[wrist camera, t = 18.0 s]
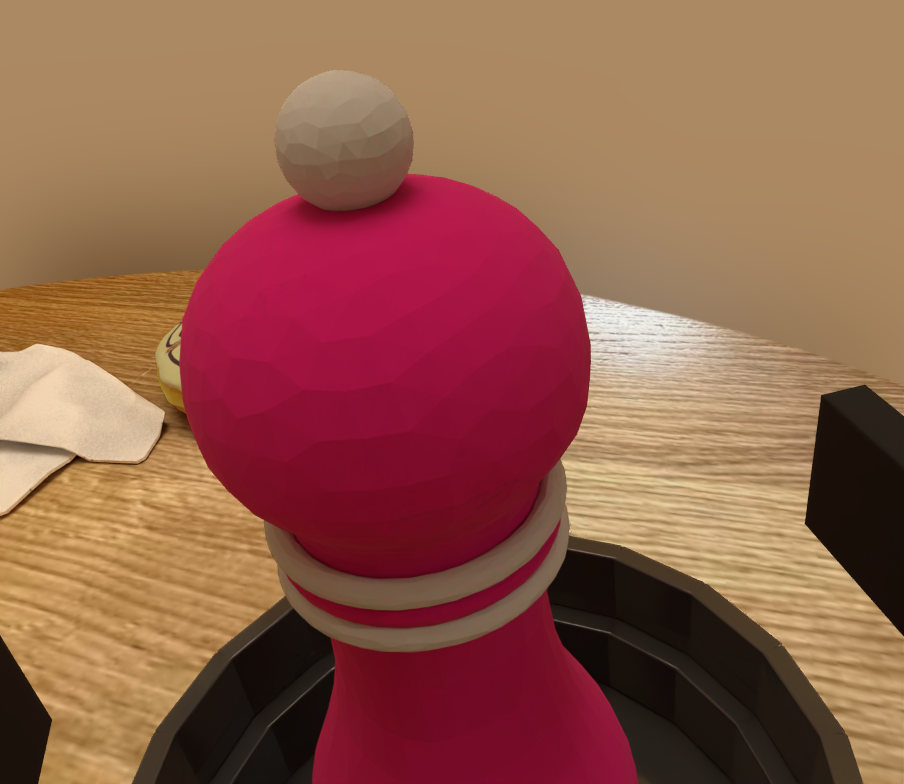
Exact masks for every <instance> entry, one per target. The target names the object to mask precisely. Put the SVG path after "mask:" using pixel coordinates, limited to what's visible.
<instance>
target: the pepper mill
mask: <svg viewBox="0 0 904 784" xmlns="http://www.w3.org/2000/svg"><path fill="white" fill-rule="evenodd" d="M274 141H275V148H276V156H277V160H278V163H279V166H280V168H281V170H282V172H283V174H284V176H285V178H286V180H287V181H288V182H289V183H290V185H291V186H292V187H293V188H294V189H295V190H296V192H297V193H298V194H297V195H295V196H293V197H290V198H288V199H286V200H284V201H281V202H279V203H277V204H275V205H274V206H272V207H270V208H269V209H267V210H266V211H264V212H262V213H261V214H259V215H257V216H256V217H254V218H253V219H251V220H249V221H248V222H247V223H246V224H245V225H244V226H242V227H241V228H240V229H239V230H238V231H237V232H236V233H235V234H234V235H233V236H232V237H231V238H229V239H228V240H227V241H226V242H225V243H224V244H223V245H222V246H221V248H220V249H219V251H218V252H217V254H216V255H215V256H214V258H213V259H212V261H211V262H210V263H209V265H208V266H207V268H206V269H205V270H204V272H203V273H202V275H201V276H200V278H199V279H198V281H197V282H196V285H195V288H194V290H193V293H192V296H191V298H190V301H189V304H188V306H187V309H186V312H185V314H184V317H183V320H182V332H181V345H180V357H179V368H180V379H181V389H182V400H183V404H184V408H185V412H186V416H187V420H188V422H189V425H190V427H191V430H192V432H193V435H194V437H195V439H196V442H197V444H198V447H199V449H200V451H201V453H202V455H203V457H204V459H205V462H206V464H207V466H208V468H209V469H210V470H211V471H212V473H213V474H214V475H215V476H216V477H217V478H218V480H219V481H220V482H221V483H222V484H223V486H224V487H225V488H226V489H227V490H228V491H229V492H230V493H231V494H232V495H233V496H234V497H235V498H236V499H238V500H239V501H240V502H241V503H242V504H243V505H244V506H245V507H246V508H248V509H249V510H250V511H251V512H252V513H253V514H254V515H256V516H258V517H259V518H261V519H263V520H264V527H265V536H266V540H267V544H268V547H269V550H270V552H271V554H272V556H273V557H274V559H275V561H276V563H277V566H278V575H279V579H280V583H281V585H282V588H283V591H284V593H285V596H286V598H287V599H288V601H289V602H290V604H291V605H292V607H293V608H294V609H295V610H296V611H297V612H298V613H299V614H300V615H301V616H302V617H303V618H304V619H305V620H306V621H307V622H308V623H309V624H310V625H311V626H313V627H314V628H316V629H317V630H319V631H320V632H322V633H323V634H325V635H327V636H328V637H331V642H332V647H333V651H334V656H335V675H334V686H333V690H332V695H331V699H330V703H329V708H328V711H327V714H326V717H325V721H324V724H323V727H322V730H321V733H320V737H319V740H318V743H317V746H316V751H315V759H314V766H313V777H312V784H638V778H637V771H636V767H635V763H634V759H633V756H632V752H631V749H630V745H629V741H628V739H627V737H626V735H625V733H624V731H623V729H622V727H621V725H620V723H619V721H618V719H617V717H616V715H615V713H614V711H613V709H612V707H611V705H610V703H609V701H608V700H607V698H606V697H605V695H604V694H603V692H602V690H601V689H600V687H599V686H598V684H597V683H596V682H595V681H594V679H593V678H592V677H591V676H590V675H589V673H588V672H587V671H586V670H585V669H584V667H583V666H582V665H581V664H580V663H579V662H578V661H577V660H576V659H575V658H574V657H573V656H572V655H571V654H570V653H569V652H568V651H567V650H566V649H565V648H564V647H563V645H562V643H561V641H560V639H559V636H558V634H557V632H556V630H555V626H554V621H553V617H552V612H551V607H550V603H549V598H548V593H547V588H548V586H549V585H550V584H551V583H552V581H553V580H554V579H555V577H556V575H557V573H558V571H559V569H560V567H561V565H562V563H563V561H564V559H565V555H566V551H567V546H568V538H569V527H570V525H569V518H568V512H567V507H566V505H565V500H566V492H567V484H566V476H565V470H564V467H563V465H562V462H561V459H560V458H561V457H562V455H563V454H564V452H565V451H566V449H567V448H568V446H569V445H570V444H571V442H572V441H573V439H574V438H575V436H576V435H577V433H578V430H579V427H580V424H581V421H582V419H583V416H584V413H585V410H586V407H587V401H588V391H589V382H590V365H591V344H590V339H589V334H588V329H587V323H586V318H585V313H584V308H583V303H582V298H581V295H580V293H579V291H578V289H577V287H576V285H575V283H574V281H573V279H572V276H571V274H570V272H569V270H568V268H567V266H566V264H565V262H564V260H563V258H562V256H561V254H560V252H559V250H558V249H557V248H556V247H555V246H554V244H553V243H552V242H551V241H550V240H549V239H548V238H547V237H546V236H545V234H544V233H543V232H542V231H541V230H540V229H539V228H538V227H537V226H536V225H535V224H534V223H533V222H532V221H530V220H529V219H528V218H527V217H526V216H525V215H524V214H522V213H521V212H520V211H519V210H518V209H517V208H515V207H514V206H512V205H510V204H508V203H507V202H505V201H503V200H501V199H500V198H498V197H496V196H494V195H492V194H490V193H487V192H485V191H483V190H481V189H479V188H476V187H474V186H471V185H468V184H464V183H461V182H458V181H454V180H451V179H447V178H443V177H434V176H427V175H416V174H407V173H408V170H409V167H410V164H411V162H412V156H413V131H412V128H411V125H410V121H409V118H408V115H407V112H406V110H405V109H404V107H403V106H402V105H401V103H400V102H399V100H398V99H397V97H396V96H395V95H394V94H393V93H392V92H391V91H390V90H389V89H388V88H387V87H386V86H385V85H384V84H383V83H381V82H379V81H378V80H376V79H375V78H373V77H370V76H367V75H364V74H361V73H356V72H352V71H348V70H332V71H328V72H325V73H321V74H319V75H316V76H314V77H312V78H310V79H308V80H307V81H305V82H303V83H302V84H300V85H298V87H297V88H296V89H295V90H294V91H293V92H292V93H291V94H290V96H289V97H288V98H287V99H286V101H285V103H284V105H283V107H282V108H281V111H280V114H279V118H278V121H277V124H276V131H275V139H274Z"/></svg>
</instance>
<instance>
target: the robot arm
mask: <svg viewBox="0 0 904 784" xmlns="http://www.w3.org/2000/svg"><path fill="white" fill-rule="evenodd" d="M805 525H806V526H807V527H808V528H809V529H810V530H811V531H812V532H813V534H814V535H815V536H816V537H817V538H818V539H819V540H820V542H821V543H822V544H823V545H824V546H825V547H826V548H827V550H828V551H829V552H830V553H831V554H832V555H833V556H834V558H835V559H836V560H837V561H838V562H839V563H840V564H841V565H842V567H843V568H844V569H845V570H846V571H847V572H848V573H849V575H850V576H851V577H852V578H853V579H854V580H855V581H856V583H857V584H858V585H859V586H860V587H861V588H862V589H863V591H864V592H865V593H866V594H867V595H868V596H869V597H870V598H871V600H872V601H873V602H874V603H875V604H876V605H877V606H878V608H879V609H880V610H881V611H882V612H883V613H884V614H885V616H886V617H887V618H888V619H889V620H890V621H891V622H892V624H893V625H894V626H895V627H896V628H897V629H898V630H899V631H900V633H901V634H902V635H903V636H904V416H903V415H902V414H901V413H899V412H898V411H897V410H896V409H894V408H893V407H892V406H891V405H889V404H888V403H887V402H886V401H884V400H883V399H882V398H881V397H880V396H878V395H877V394H876V393H875V392H873V391H872V390H871V389H870V388H868V387H867V386H866V385H862V386H857V387H853V388H849V389H845V390H841V391H837V392H833V393H829V394H824V395H821V402H820V409H819V417H818V425H817V433H816V441H815V448H814V456H813V464H812V472H811V479H810V487H809V495H808V503H807V511H806V518H805ZM51 722H52V719H51V717H50V716H49V714H48V712H47V711H46V709H45V707H44V706H43V704H42V703H41V701H40V699H39V698H38V696H37V694H36V693H35V691H34V690H33V688H32V686H31V685H30V683H29V682H28V680H27V678H26V677H25V675H24V673H23V672H22V670H21V669H20V667H19V665H18V664H17V662H16V660H15V659H14V657H13V656H12V654H11V652H10V651H9V649H8V647H7V646H6V644H5V643H4V641H3V639H2V638H1V636H0V784H38V782H39V777H40V773H41V768H42V764H43V759H44V754H45V750H46V745H47V741H48V736H49V731H50V727H51Z"/></svg>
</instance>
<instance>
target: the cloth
mask: <svg viewBox="0 0 904 784" xmlns="http://www.w3.org/2000/svg"><path fill="white" fill-rule="evenodd" d="M164 415H165V412H164V411H163V410H161V409H160V408H158V407H157V406H155V405H154V404H152V403H151V402H149V401H147V400H146V399H144V398H143V397H141V396H139V395H138V394H137V393H135V392H134V391H133V390H131V389H130V388H129V387H127V386H126V385H125V384H123V383H122V382H121V381H119V380H118V379H117V378H115V377H114V376H112V375H111V374H109V373H108V372H106V371H105V370H103V369H101V368H100V367H98V366H97V365H95V364H94V363H92V362H91V361H89V360H85V359H83V358H81V357H80V356H78V355H77V354H75V353H73V352H70V351H68V350H65V349H63V348H57V347H52V346H47V345H42V344H35V345H33V346H31V347H29V348H27V349H24V350H22V351H20V352H0V516H2V515H4V514H7V513H9V512H10V511H11V510H12V509H13V508H14V507H15V506H16V505H17V504H18V503H19V502H20V501H22V500H23V499H24V498H25V497H26V496H27V495H28V494H29V493H30V492H31V491H32V490H33V489H35V488H36V487H37V486H38V485H39V484H40V483H41V482H42V481H43V480H44V479H45V478H47V477H48V476H49V475H50V474H51V473H53V472H54V471H56V470H58V469H59V468H61V467H62V466H64V465H65V464H67V463H69V462H70V461H71V460H72V459H73V458H74V457H75V456H76V455H78V456H80V457H82V458H84V459H86V460H88V461H90V462H112V463H134V464H138V463H140V462H141V461H143V460H145V459H146V458H147V456H148V455H149V453H150V452H151V450H152V448H153V447H154V445H155V444H156V442H157V440H158V439H159V437H160V435H161V430H162V425H163V420H164Z"/></svg>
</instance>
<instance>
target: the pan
mask: <svg viewBox="0 0 904 784" xmlns="http://www.w3.org/2000/svg"><path fill="white" fill-rule="evenodd" d="M547 593H548V598H549V603H550V607H551V612H552V617H553V621H554V626H555V630H556V632H557V634H558V636H559V639H560V641H561V643H562V645H563V647H564V648H565V649H566V650H567V651H568V652H569V653H570V654H571V655H572V656H573V657H574V658H575V659H576V660H577V661H578V662H579V663H580V664H581V665H582V666H583V667H584V669H585V670H586V671H587V672H588V673H589V675H590V676H591V677H592V678H593V679H594V681H595V682H596V683H597V684H598V686H599V687H600V689H601V690H602V692H603V694H604V695H605V697H606V698H607V700H608V701H609V703H610V705H611V707H612V709H613V711H614V713H615V715H616V717H617V719H618V721H619V723H620V725H621V727H622V729H623V731H624V733H625V735H626V737H627V739H628V741H629V745H630V749H631V752H632V756H633V759H634V763H635V767H636V771H637V778H638V784H863V781H862V778H861V775H860V772H859V769H858V766H857V763H856V760H855V757H854V754H853V751H852V748H851V745H850V742H849V739H848V736H847V734H845V731H844V730H843V728H842V727H841V725H840V724H839V723H838V721H837V720H836V718H835V717H834V716H833V714H832V713H831V712H830V710H829V709H828V707H827V706H826V705H825V703H824V702H823V700H822V699H821V698H820V696H819V695H818V693H817V692H816V691H815V689H814V688H813V686H812V685H811V684H810V682H809V681H808V679H807V678H806V677H805V675H804V674H803V672H802V671H801V670H800V668H799V667H798V665H797V664H796V663H795V661H794V660H793V659H792V657H791V656H790V654H789V653H788V652H787V650H786V649H785V647H784V646H782V644H781V643H780V642H779V641H778V640H777V639H775V638H774V637H773V636H772V635H770V634H769V633H768V632H767V631H765V630H764V629H763V628H762V627H760V626H759V625H758V624H757V623H755V622H754V621H753V620H751V619H750V618H749V617H748V616H746V615H745V614H744V613H743V612H741V611H740V610H739V609H738V608H736V607H735V606H734V605H733V604H731V603H730V602H729V601H728V600H726V599H725V598H724V597H723V596H721V595H720V594H719V593H718V592H716V591H715V590H714V589H713V588H711V587H710V586H709V585H708V584H705V583H704V582H702V581H700V580H697V579H695V578H693V577H691V576H688V575H686V574H684V573H682V572H679V571H677V570H675V569H673V568H671V567H668V566H666V565H664V564H662V563H659V562H657V561H655V560H653V559H651V558H648V557H646V556H644V555H642V554H639V553H637V552H635V551H633V550H630V549H628V548H626V547H622V546H620V545H615V544H610V543H605V542H600V541H594V540H589V539H584V538H579V537H573V536H569V538H568V546H567V551H566V555H565V559H564V561H563V563H562V565H561V567H560V569H559V571H558V573H557V575H556V577H555V579H554V580H553V581H552V583H551V584H550V585H549V586H548V588H547ZM334 675H335V656H334V651H333V647H332V642H331V637H328V636H327V635H325V634H323V633H322V632H320V631H319V630H317V629H316V628H314V627H313V626H311V625H310V624H309V623H308V622H307V621H306V620H305V619H304V618H303V617H302V616H301V615H300V614H299V613H298V612H297V611H296V610H295V609H294V608H293V607H292V605H291V604H290V602H289V601H288V599H287V598H286V596H285V597H284V598H282V599H281V600H280V601H279V602H277V603H276V604H275V605H274V606H273V607H271V608H270V609H269V610H268V611H266V612H265V613H264V614H263V615H261V616H260V617H259V618H258V619H256V620H255V621H254V622H253V623H251V624H250V625H249V626H248V627H246V628H245V629H244V630H243V631H242V632H240V633H239V634H238V635H237V636H235V637H234V638H233V639H232V640H230V641H229V642H228V643H227V644H225V645H224V646H223V647H222V648H220V649H219V650H218V653H215V654H214V656H213V657H212V658H211V659H210V661H209V662H208V663H207V665H206V666H205V667H204V668H203V670H202V671H201V672H200V674H199V675H198V676H197V677H196V679H195V680H194V681H193V683H192V684H191V685H190V686H189V688H188V689H187V690H186V692H185V693H184V694H183V695H182V697H181V698H180V699H179V701H178V702H177V703H176V704H175V706H174V707H173V708H172V710H171V711H170V712H169V713H168V715H167V716H166V717H165V719H164V720H163V721H162V722H161V724H160V725H159V726H158V728H157V729H156V733H154V734H153V736H152V738H151V741H150V743H149V745H148V747H147V750H146V752H145V754H144V757H143V759H142V761H141V764H140V766H139V768H138V771H137V773H136V775H135V777H134V780H133V782H132V784H312V777H313V766H314V759H315V751H316V746H317V743H318V740H319V737H320V733H321V730H322V727H323V724H324V721H325V717H326V714H327V711H328V708H329V703H330V699H331V695H332V690H333V686H334Z"/></svg>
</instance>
